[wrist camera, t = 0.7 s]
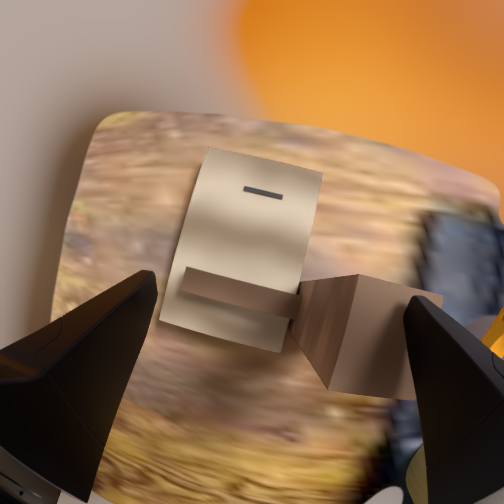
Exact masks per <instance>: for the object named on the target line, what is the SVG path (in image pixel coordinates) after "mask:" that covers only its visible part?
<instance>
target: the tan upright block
mask: <svg viewBox="0 0 504 504" xmlns="http://www.w3.org/2000/svg"><path fill="white" fill-rule="evenodd" d="M180 290H182V291H186V292H189V293H193V294H196V295H200V296H203V297H207V298H211V299H214V300H218V301H222V302H225V303H229V304H233V305H237V306H240V307H244V308H248V309H252V310H256V311H260V312H264V313H268V314H272V315H276V316H280V317H285V318H289V319H290V321H289V325H288V329H289V330H290V332H291V334H292V335H293V337H294V338H295V340H296V341H297V343H298V345H299V346H300V348H301V349H302V351H303V352H304V354H305V355H306V357H307V359H308V360H309V362H310V363H311V365H312V366H313V368H314V370H315V371H316V373H317V374H318V376H319V377H320V379H321V380H322V382H323V384H324V385H325V387H326V388H327V390H330V391H337V392H343V393H350V394H357V395H365V396H373V397H382V398H392V399H403V400H416V393H415V388H414V383H413V378H412V373H411V368H410V364H409V359H408V352H407V344H406V337H405V330H404V323H403V315H404V312H405V310H406V308H407V305H408V303H409V301H410V299H411V297H412V296H413V295H423V296H425V297H426V298H427V299H429V300H430V301H431V302H433V303H434V304H435V305H436V306H438V307H439V308H440V309H441V308H442V304H443V299H444V296H442V295H438V294H435V293H431V292H427V291H423V290H419V289H415V288H411V287H407V286H403V285H399V284H396V283H392V282H388V281H384V280H380V279H376V278H372V277H368V276H364V275H360V274H357V275H350V276H342V277H335V278H327V279H320V280H312V281H304V282H299V286H298V290H297V294H292V293H288V292H284V291H280V290H276V289H272V288H268V287H264V286H260V285H256V284H252V283H248V282H244V281H240V280H236V279H232V278H229V277H225V276H221V275H217V274H213V273H210V272H206V271H202V270H198V269H195V268H191V267H187V266H186V269H185V273H184V277H183V281H182V285H181V289H180Z"/></svg>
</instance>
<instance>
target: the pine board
mask: <svg viewBox="0 0 504 504" xmlns="http://www.w3.org/2000/svg"><path fill="white" fill-rule="evenodd" d="M322 176H323V173H321V172H318V171H314V170H310V169H306V168H302V167H298V166H294V165H290V164H286V163H282V162H278V161H273V160H269V159H265V158H260V157H256V156H251V155H246V154H241V153H236V152H231V151H226V150H221V149H216V148H210V147H208V148H207V151H206V154H205V157H204V160H203V163H202V166H201V169H200V172H199V175H198V179H197V182H196V185H195V188H194V191H193V195H192V198H191V201H190V204H189V208H188V211H187V214H186V218H185V221H184V225H183V228H182V232H181V235H180V239H179V242H178V246H177V250H176V253H175V257H174V261H173V265H172V268H171V272H170V276H169V280H168V284H167V288H166V292H165V296H164V301H163V305H162V309H161V313H160V318H159V320H161V321H164V322H168V323H171V324H174V325H177V326H180V327H183V328H187V329H190V330H193V331H197V332H200V333H204V334H207V335H211V336H214V337H218V338H221V339H225V340H229V341H232V342H236V343H240V344H244V345H248V346H252V347H256V348H260V349H264V350H268V351H272V352H277V353H280V352H281V349H282V345H283V341H284V338H285V334H286V330H287V327H288V323H289V318H285V317H280V316H276V315H272V314H268V313H264V312H260V311H256V310H252V309H248V308H244V307H240V306H237V305H233V304H229V303H225V302H222V301H218V300H214V299H211V298H207V297H203V296H200V295H196V294H193V293H189V292H186V291H182V290H180V289H181V285H182V281H183V277H184V273H185V269H186V266H187V267H191V268H195V269H198V270H202V271H206V272H210V273H213V274H217V275H221V276H225V277H229V278H232V279H236V280H240V281H244V282H248V283H252V284H256V285H260V286H264V287H268V288H272V289H276V290H280V291H284V292H288V293H292V294H296V292H297V288H298V284H299V280H300V276H301V272H302V267H303V263H304V259H305V255H306V250H307V246H308V242H309V237H310V233H311V228H312V224H313V219H314V214H315V210H316V205H317V200H318V195H319V191H320V186H321V181H322Z"/></svg>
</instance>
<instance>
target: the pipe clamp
mask: <svg viewBox="0 0 504 504" xmlns="http://www.w3.org/2000/svg"><path fill="white" fill-rule="evenodd" d="M481 342H482V343H483V344H485V345H486V346H487V347H488V348H489V349H490V350H491V352H492V351H493V352H494V353H495V354H496V355H497V356H499V357H500V358H501V359H502V357H503V356H504V306H503V308H502V309H501V311H500V313H499V314H498V316H496V318H495V319H494V321H493V322H492V324H491V326H490V327H489V329H488V330H487V332H486V333H485V335H484V336H483V338H482V339H481Z"/></svg>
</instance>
